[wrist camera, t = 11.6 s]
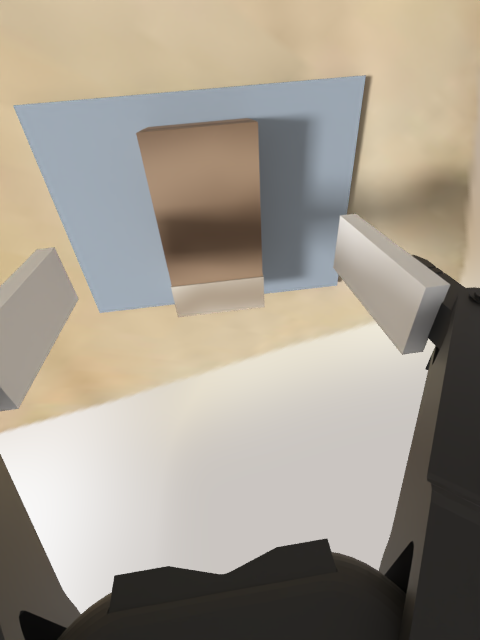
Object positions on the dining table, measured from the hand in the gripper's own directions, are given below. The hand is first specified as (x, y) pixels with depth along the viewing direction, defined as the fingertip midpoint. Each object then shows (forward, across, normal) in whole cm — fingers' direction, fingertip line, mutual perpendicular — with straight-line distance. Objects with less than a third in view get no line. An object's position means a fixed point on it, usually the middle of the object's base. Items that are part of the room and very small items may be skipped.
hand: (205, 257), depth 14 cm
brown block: (+8, 0, -1) cm, 8 cm away
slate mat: (+9, 0, -1) cm, 9 cm away
